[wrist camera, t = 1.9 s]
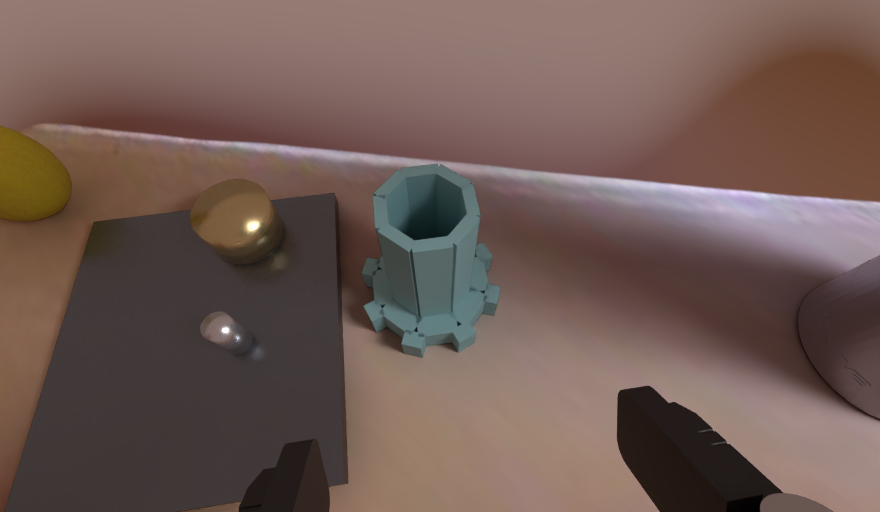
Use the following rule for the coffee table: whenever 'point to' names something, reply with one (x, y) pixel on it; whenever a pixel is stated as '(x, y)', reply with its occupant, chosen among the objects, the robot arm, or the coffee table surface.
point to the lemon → (30, 179)
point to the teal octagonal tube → (429, 260)
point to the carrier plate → (192, 358)
